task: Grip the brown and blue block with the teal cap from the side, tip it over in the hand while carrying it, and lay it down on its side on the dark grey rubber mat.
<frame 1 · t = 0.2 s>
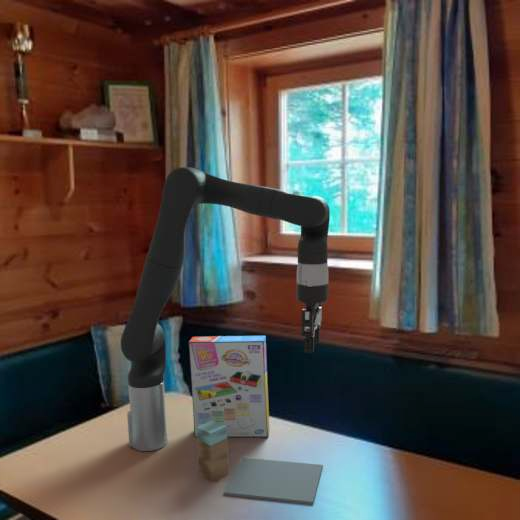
hand: (312, 347, 134), 29 cm above the table, tool pointing down, fingers open, 8 cm apart
rubber mat: (275, 480, 129), on the table
game box: (232, 433, 154), on the table
brown and blue block: (213, 474, 132), on the table
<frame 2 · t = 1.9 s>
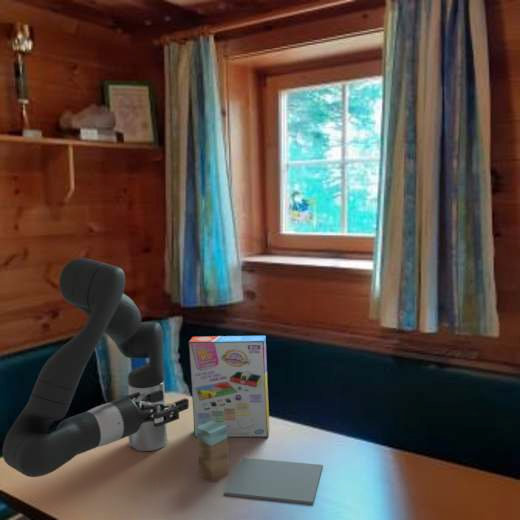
hand: (174, 398, 122), 22 cm above the table, tool horizontal, fingers open, 8 cm apart
nothing on the table moved.
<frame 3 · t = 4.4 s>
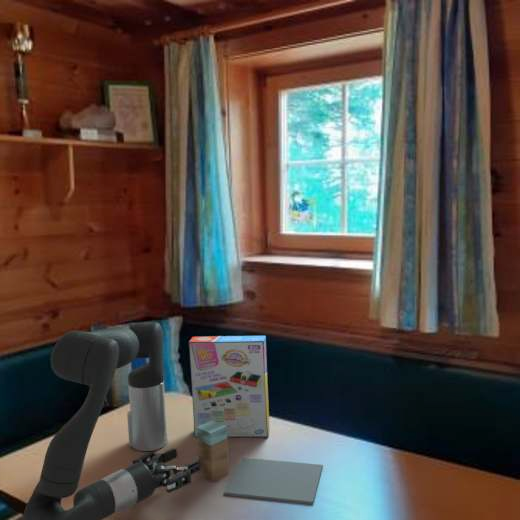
hand: (187, 458, 126), 7 cm above the table, tool horizontal, fingers open, 8 cm apart
nothing on the table moved.
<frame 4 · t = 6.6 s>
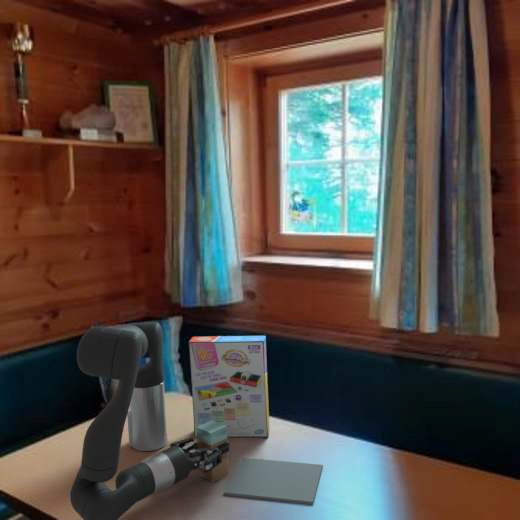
hand: (220, 442, 133), 7 cm above the table, tool horizontal, fingers closed on brown and blue block, 5 cm apart
brown and blue block: (213, 474, 132), on the table, touching gripper
everything else where it was.
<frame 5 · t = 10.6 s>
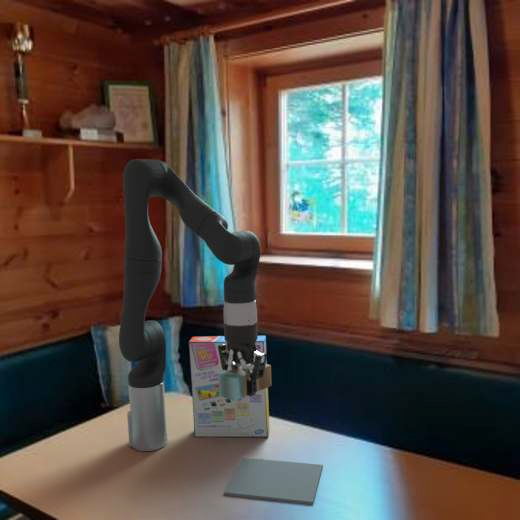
hand: (242, 391, 128), 21 cm above the table, tool pointing down, fingers closed on brown and blue block, 5 cm apart
brown and blue block: (263, 373, 132), point 24 cm above the table, tilted 90°, touching gripper
everything else where it was.
when the fingers open (3 cm above the table, at t = 13.9 s): brown and blue block drops 2 cm, resting on rubber mat.
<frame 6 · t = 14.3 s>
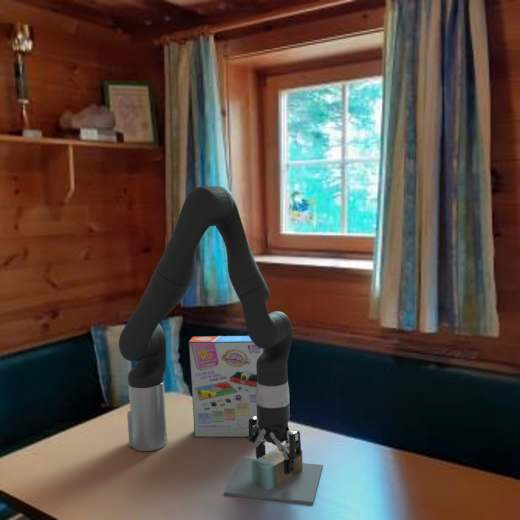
hand: (274, 467, 128), 3 cm above the table, tool pointing down, fingers open, 8 cm apart
brown and blue block: (294, 456, 133), point 3 cm above the table, tilted 90°, touching rubber mat
everything else where it was.
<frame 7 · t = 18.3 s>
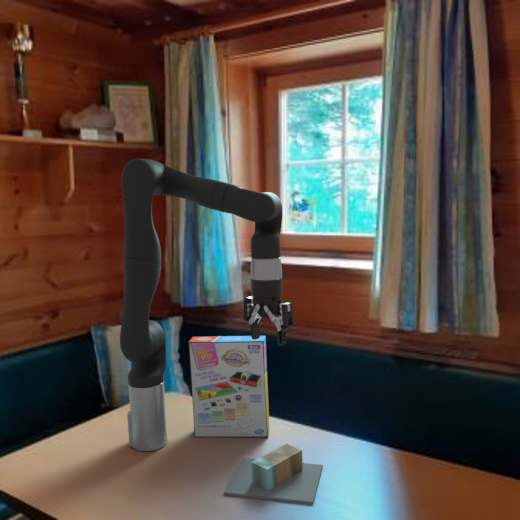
hand: (268, 341, 135), 30 cm above the table, tool pointing down, fingers open, 8 cm apart
nothing on the table moved.
at the end: brown and blue block tilted 90°; brown and blue block inside the target area (6.9 cm from its centre), point 3.1 cm above the table; the gripper is holding nothing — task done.
